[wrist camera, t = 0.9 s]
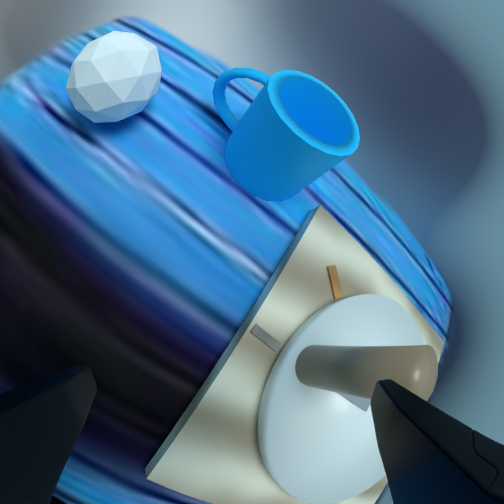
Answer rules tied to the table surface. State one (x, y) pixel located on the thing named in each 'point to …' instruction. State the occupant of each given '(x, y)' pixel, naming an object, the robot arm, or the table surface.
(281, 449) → the dial
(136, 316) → the table surface
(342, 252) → the dial board
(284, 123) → the mug
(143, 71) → the ball
